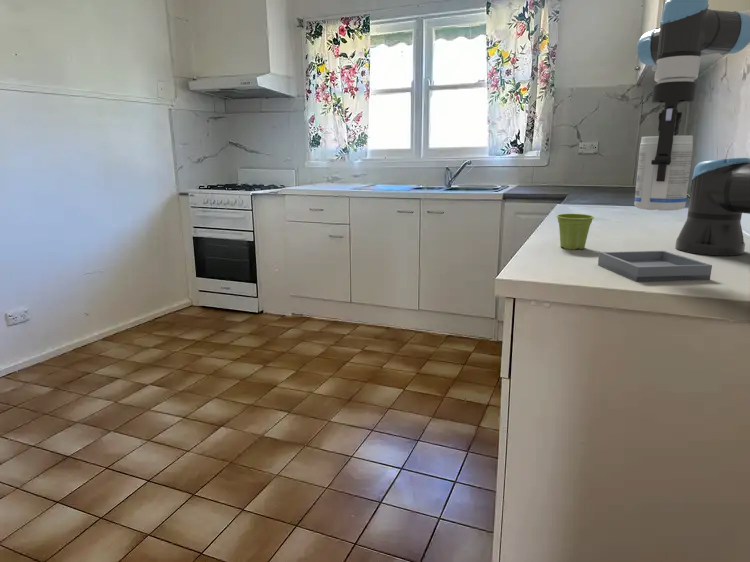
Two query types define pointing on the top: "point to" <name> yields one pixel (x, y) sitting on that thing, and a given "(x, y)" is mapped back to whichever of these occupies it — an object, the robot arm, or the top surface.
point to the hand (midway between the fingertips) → (659, 196)
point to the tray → (654, 266)
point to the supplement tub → (677, 174)
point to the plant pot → (574, 230)
